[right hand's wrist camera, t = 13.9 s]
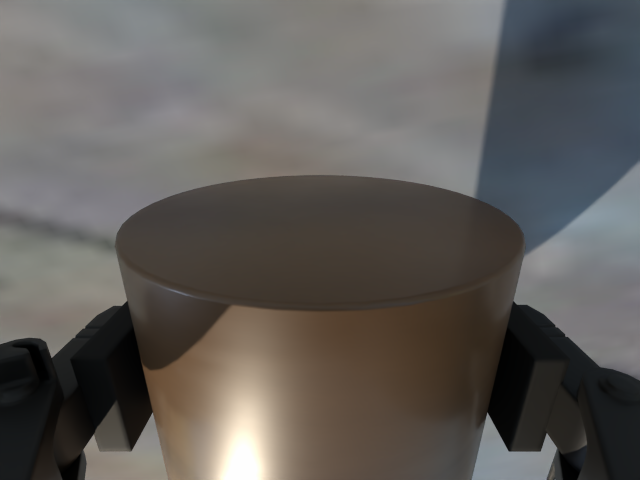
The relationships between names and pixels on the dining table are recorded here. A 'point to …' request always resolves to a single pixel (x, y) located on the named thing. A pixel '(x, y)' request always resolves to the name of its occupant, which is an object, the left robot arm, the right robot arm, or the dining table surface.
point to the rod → (320, 326)
